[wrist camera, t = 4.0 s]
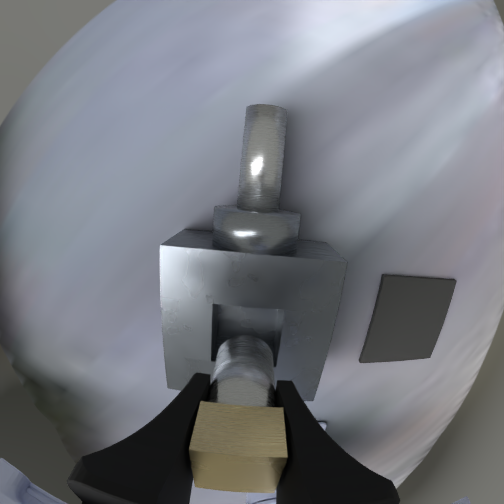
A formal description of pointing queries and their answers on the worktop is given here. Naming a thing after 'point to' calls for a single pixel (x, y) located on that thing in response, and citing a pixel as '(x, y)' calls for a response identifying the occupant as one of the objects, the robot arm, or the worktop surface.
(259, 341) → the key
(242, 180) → the chuck
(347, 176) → the worktop surface
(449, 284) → the mat
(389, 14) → the worktop surface
